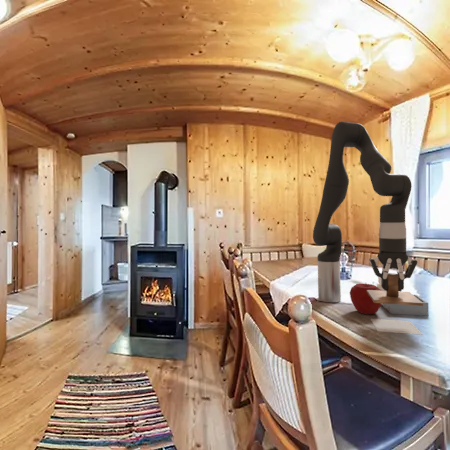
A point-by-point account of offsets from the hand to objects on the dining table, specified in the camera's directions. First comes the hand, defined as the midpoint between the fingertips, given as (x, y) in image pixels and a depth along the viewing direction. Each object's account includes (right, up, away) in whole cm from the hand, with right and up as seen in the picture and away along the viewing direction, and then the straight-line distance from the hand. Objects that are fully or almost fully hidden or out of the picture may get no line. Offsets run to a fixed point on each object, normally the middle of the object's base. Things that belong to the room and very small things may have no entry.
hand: (392, 290), depth 93 cm
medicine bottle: (+15, -12, +30) cm, 35 cm away
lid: (0, -3, 0) cm, 3 cm away
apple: (-1, -12, +14) cm, 19 cm away
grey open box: (+14, -12, +17) cm, 25 cm away
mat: (0, -12, 0) cm, 12 cm away
